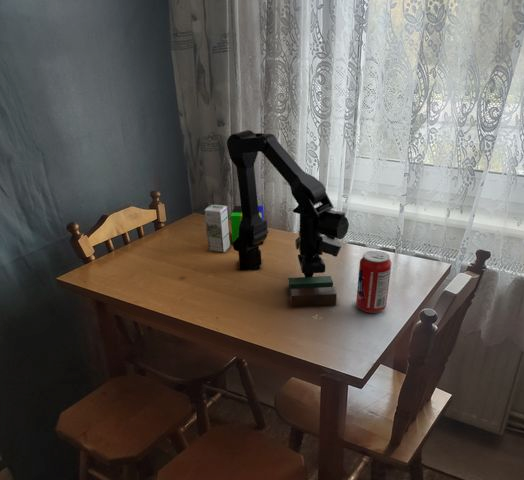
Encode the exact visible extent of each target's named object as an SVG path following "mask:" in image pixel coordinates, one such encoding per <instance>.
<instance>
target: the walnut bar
mask: <svg viewBox="0 0 524 480" xmlns="http://www.w3.org/2000/svg"><path fill="white" fill-rule="evenodd" d="M289 296H290V298H289V299H290V305H291V308H305V307H306V308H307V307H328V306H337V291H336V288H335V286H333V287H324V288H302V289H290V294H289Z"/></svg>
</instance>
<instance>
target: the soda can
mask: <svg viewBox="0 0 524 480" xmlns="http://www.w3.org/2000/svg"><path fill="white" fill-rule="evenodd" d="M391 270H392V261H391V259H390V255H389V254H388V253H386V252H384V251H381V250H369V251H366V252H364V253H363V255H362V257H361V258H360V259H359V267H358V278H357V291H356V299H355V300H356V302H355V305H356V307H357V308H358V309H359V310H361V311H363V312H365V313H368V314H375V313H380V312H382V311H384V310H385V309H386V308H387V304H388V295H389V287H390V281H391V280H390V279H391Z"/></svg>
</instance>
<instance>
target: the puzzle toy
mask: <svg viewBox="0 0 524 480" xmlns="http://www.w3.org/2000/svg"><path fill="white" fill-rule="evenodd" d="M258 210H259V215H260V217H261V218H262V220H265V219H264V205H258ZM241 219H242V209H241V205H234V207H233V209H232V211H231V214H230V226H231V229H230V230H231V242H232V243H233V242H234V241H235V240H236V239H237V238H238V237H239V225H240V222H241ZM232 243H231V244H232Z"/></svg>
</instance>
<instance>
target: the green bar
mask: <svg viewBox="0 0 524 480" xmlns="http://www.w3.org/2000/svg"><path fill="white" fill-rule="evenodd" d="M333 282H334V281H333V279H332V276H331V275H321V276H320V275H318V276H313V277H305V276H300V277H299V276H297V277H288V292H289V295H290V289H302V288H324V287H334V286H333V285H334V283H333Z"/></svg>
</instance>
